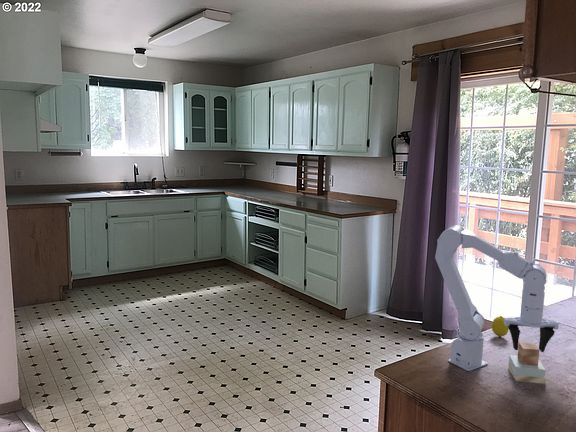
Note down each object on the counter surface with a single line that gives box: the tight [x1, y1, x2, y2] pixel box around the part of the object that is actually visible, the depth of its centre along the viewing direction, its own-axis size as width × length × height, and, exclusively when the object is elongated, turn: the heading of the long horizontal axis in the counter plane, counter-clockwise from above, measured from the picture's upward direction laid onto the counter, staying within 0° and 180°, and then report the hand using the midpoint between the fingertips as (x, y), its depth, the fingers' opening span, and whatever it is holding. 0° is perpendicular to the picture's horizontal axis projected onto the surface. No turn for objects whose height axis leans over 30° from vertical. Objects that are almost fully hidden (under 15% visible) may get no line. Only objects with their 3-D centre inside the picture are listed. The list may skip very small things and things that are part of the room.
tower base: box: [508, 363, 547, 385], centre depth 140 cm, size 8×8×2 cm
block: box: [517, 341, 540, 366], centre depth 140 cm, size 4×4×5 cm
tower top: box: [508, 354, 546, 378], centre depth 140 cm, size 8×8×2 cm
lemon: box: [491, 315, 509, 338], centre depth 168 cm, size 6×6×8 cm
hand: (528, 349), depth 139 cm, fingers open, 7 cm apart
